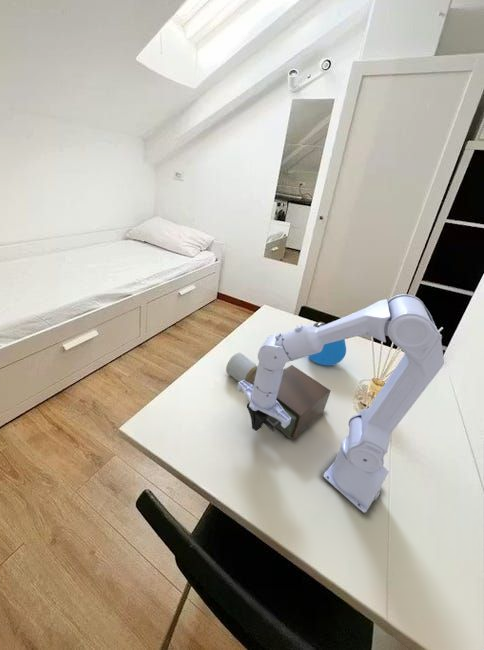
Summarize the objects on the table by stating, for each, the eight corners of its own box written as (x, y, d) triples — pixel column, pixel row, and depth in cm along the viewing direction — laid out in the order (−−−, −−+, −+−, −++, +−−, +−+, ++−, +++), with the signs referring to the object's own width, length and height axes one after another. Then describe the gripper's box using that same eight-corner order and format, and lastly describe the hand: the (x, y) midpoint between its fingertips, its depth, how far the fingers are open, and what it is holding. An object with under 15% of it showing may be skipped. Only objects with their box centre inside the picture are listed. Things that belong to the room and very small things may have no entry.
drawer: (276, 448, 69) (282, 429, 67) (241, 416, 77) (245, 398, 75) (317, 412, 81) (323, 395, 79) (283, 387, 89) (288, 371, 86)
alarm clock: (338, 360, 106) (350, 325, 100) (340, 371, 101) (352, 334, 95) (302, 351, 109) (311, 316, 104) (301, 360, 104) (311, 324, 98)
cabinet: (293, 439, 73) (300, 415, 70) (255, 407, 82) (259, 384, 79) (323, 412, 83) (330, 390, 79) (286, 385, 91) (291, 364, 88)
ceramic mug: (244, 391, 87) (248, 371, 84) (224, 377, 92) (227, 357, 89) (264, 377, 94) (269, 357, 91) (244, 364, 99) (248, 345, 96)
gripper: (232, 373, 69) (224, 415, 74) (282, 413, 59) (269, 459, 64) (251, 362, 73) (243, 403, 78) (301, 398, 63) (288, 442, 69)
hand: (256, 427), depth 72 cm, fingers closed, pressing on drawer
